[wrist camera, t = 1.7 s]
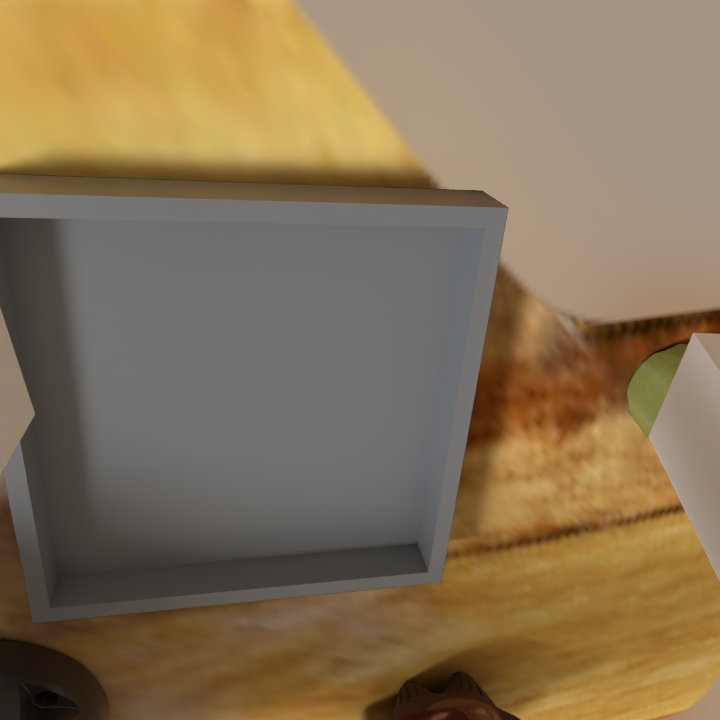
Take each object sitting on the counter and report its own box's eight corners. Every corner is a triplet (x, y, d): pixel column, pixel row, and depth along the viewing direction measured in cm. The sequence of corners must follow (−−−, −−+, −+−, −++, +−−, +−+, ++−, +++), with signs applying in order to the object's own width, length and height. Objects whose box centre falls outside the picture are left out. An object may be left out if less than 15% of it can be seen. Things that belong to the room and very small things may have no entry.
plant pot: (656, 297, 40) (760, 363, 33) (761, 343, 44) (878, 413, 36) (574, 423, 43) (652, 510, 36) (678, 457, 47) (770, 543, 39)
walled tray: (425, 544, 46) (441, 582, 42) (45, 577, 40) (32, 623, 37) (481, 190, 35) (508, 207, 32) (-26, 173, 30) (-52, 191, 27)
